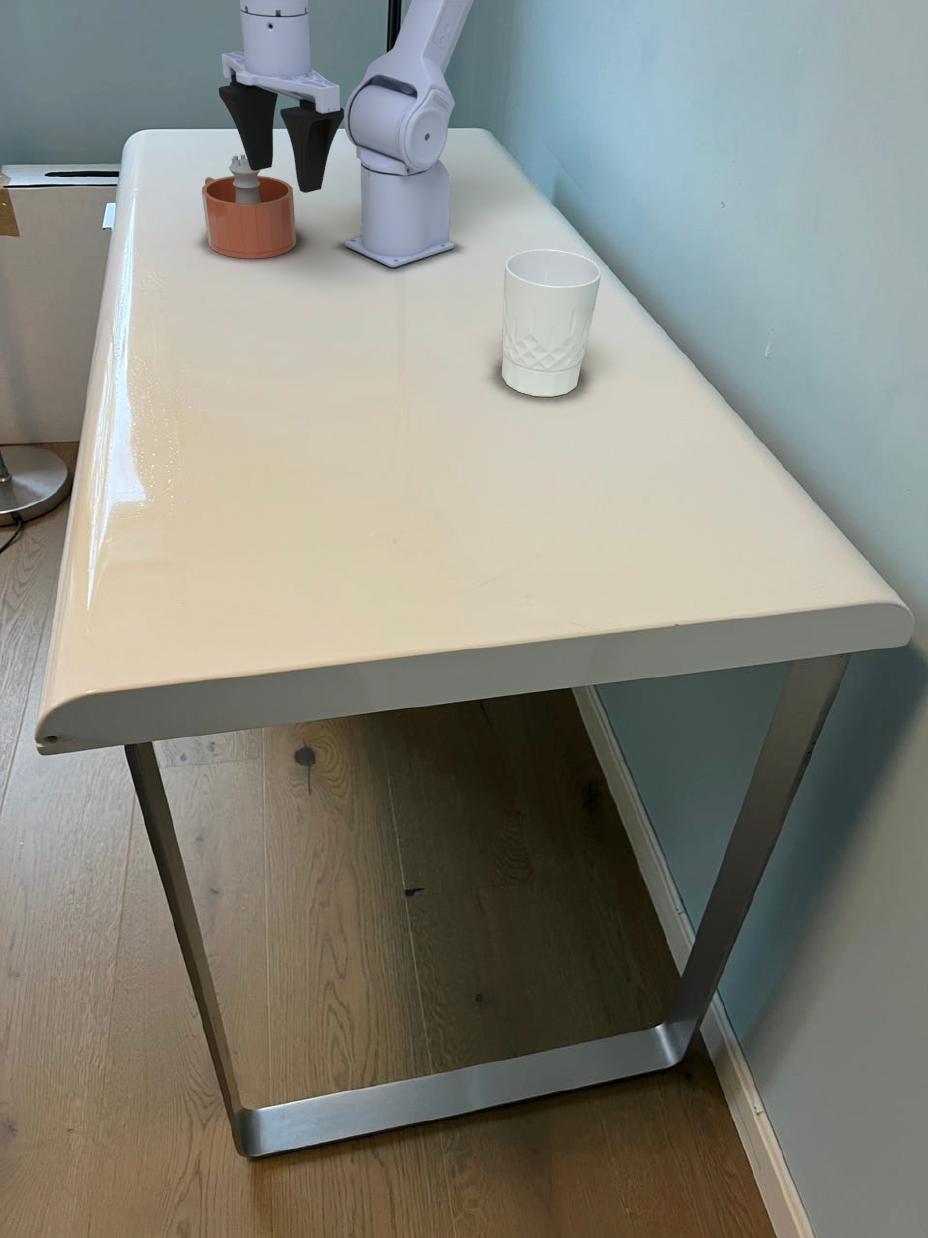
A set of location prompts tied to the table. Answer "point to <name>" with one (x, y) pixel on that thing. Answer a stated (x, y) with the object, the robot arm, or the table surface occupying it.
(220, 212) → the mug
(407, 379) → the table surface
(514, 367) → the white cup
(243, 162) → the rook chess piece
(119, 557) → the table surface
